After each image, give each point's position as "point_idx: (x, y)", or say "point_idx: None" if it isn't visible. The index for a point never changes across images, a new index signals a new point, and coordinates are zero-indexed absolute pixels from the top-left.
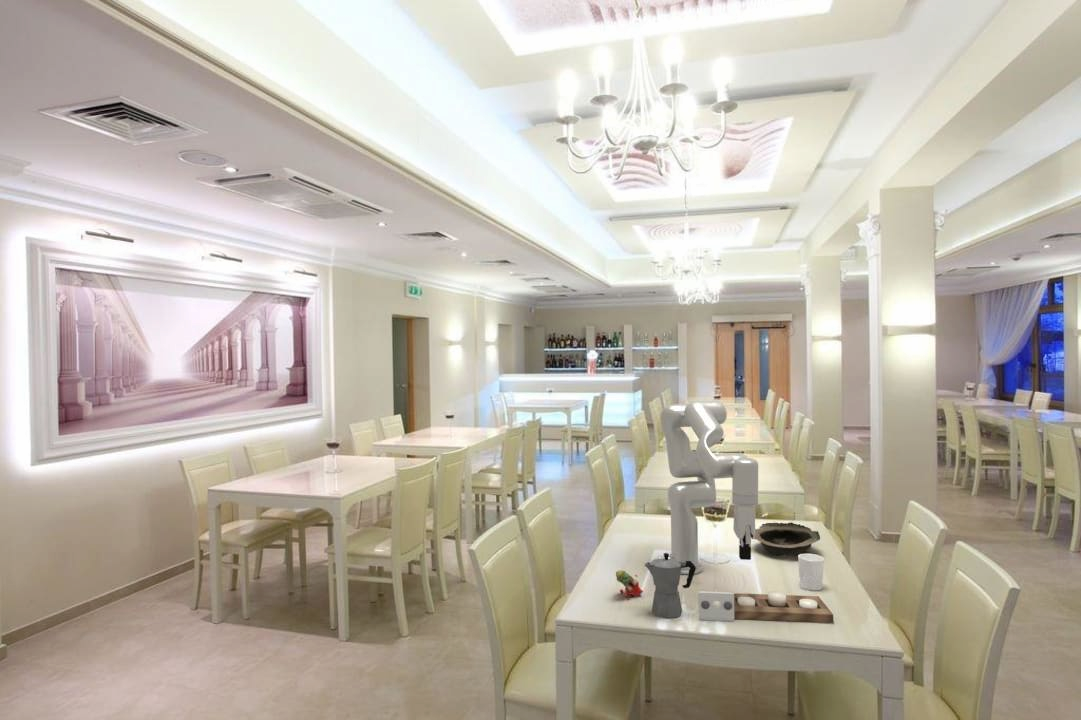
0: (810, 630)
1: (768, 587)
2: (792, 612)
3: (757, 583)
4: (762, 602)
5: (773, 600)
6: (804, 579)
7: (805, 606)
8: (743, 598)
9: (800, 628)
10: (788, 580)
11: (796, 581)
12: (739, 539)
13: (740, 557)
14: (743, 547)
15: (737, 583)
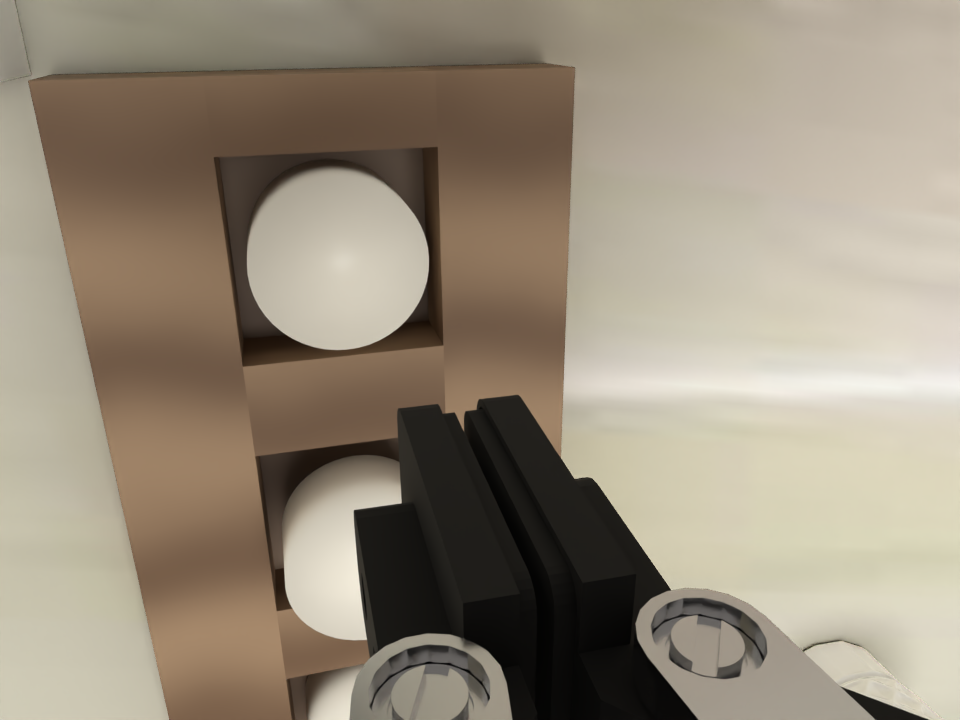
0: (6, 682)
1: (829, 453)
2: (159, 626)
3: (910, 383)
4: (355, 408)
5: (296, 520)
6: None
7: (316, 711)
8: (370, 240)
9: (23, 623)
10: (932, 579)
11: (909, 621)
12: (814, 695)
13: (400, 428)
14: (389, 688)
15: (932, 229)
